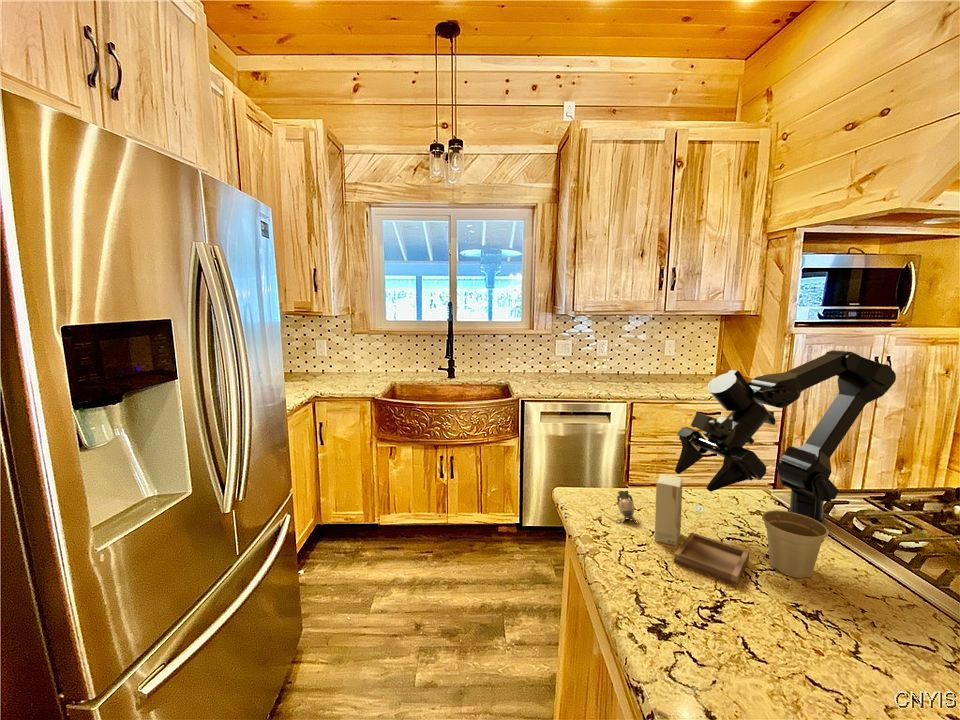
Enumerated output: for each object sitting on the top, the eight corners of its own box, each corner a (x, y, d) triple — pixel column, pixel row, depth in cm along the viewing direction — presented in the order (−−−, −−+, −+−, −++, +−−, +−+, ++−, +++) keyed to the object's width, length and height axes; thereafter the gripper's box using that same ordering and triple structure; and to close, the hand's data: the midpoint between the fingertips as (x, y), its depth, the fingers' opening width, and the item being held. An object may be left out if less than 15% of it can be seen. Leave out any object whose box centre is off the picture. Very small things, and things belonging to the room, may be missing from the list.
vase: (609, 511, 96) (612, 486, 95) (633, 514, 95) (636, 489, 94) (614, 522, 90) (617, 496, 90) (639, 525, 90) (642, 499, 89)
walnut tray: (690, 540, 83) (691, 532, 83) (748, 560, 76) (749, 551, 76) (674, 562, 76) (674, 553, 75) (736, 586, 69) (737, 576, 69)
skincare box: (677, 547, 81) (679, 487, 79) (653, 541, 83) (655, 483, 82) (681, 532, 86) (683, 476, 85) (658, 527, 88) (660, 472, 87)
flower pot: (838, 588, 68) (842, 539, 67) (774, 581, 70) (777, 534, 69) (805, 556, 77) (808, 512, 76) (750, 551, 79) (752, 508, 78)
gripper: (686, 391, 93) (641, 442, 92) (757, 409, 74) (702, 473, 73) (714, 423, 95) (670, 473, 94) (790, 448, 77) (736, 510, 76)
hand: (691, 480), depth 84 cm, fingers open, 9 cm apart
